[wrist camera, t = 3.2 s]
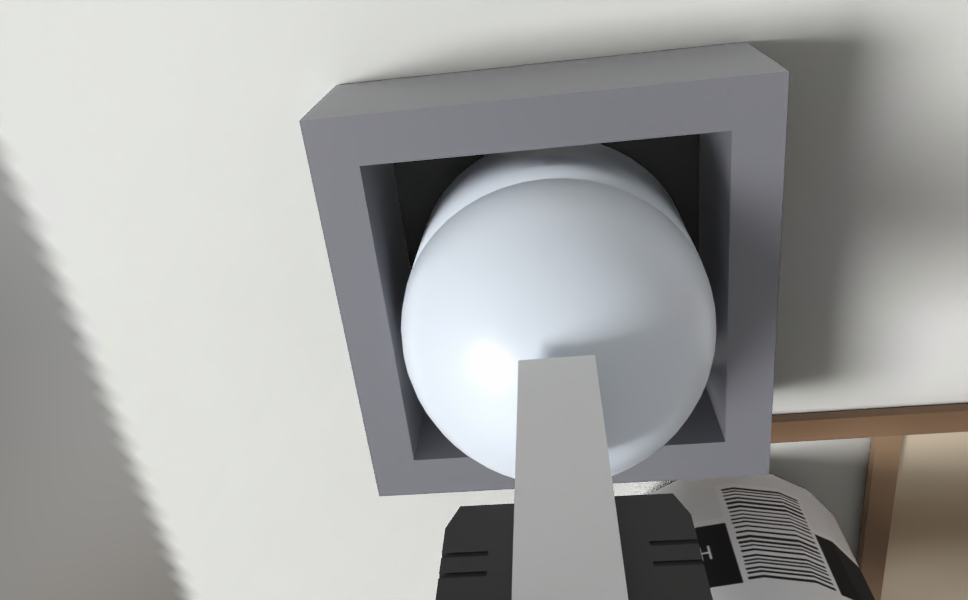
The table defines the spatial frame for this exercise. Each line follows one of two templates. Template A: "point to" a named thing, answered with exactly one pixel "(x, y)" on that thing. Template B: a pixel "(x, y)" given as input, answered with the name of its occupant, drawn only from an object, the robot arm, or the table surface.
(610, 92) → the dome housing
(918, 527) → the frame
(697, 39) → the table surface
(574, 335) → the dome button
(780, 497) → the supplement can
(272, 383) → the table surface
